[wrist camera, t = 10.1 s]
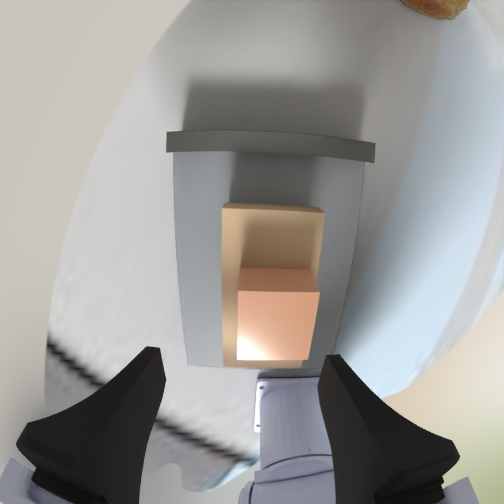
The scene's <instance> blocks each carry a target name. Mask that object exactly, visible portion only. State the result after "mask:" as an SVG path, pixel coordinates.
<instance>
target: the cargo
mask: <svg viewBox="0 0 504 504" xmlns="http://www.w3.org/2000/svg"><path fill="white" fill-rule="evenodd" d="M319 296H320V291H319V289H318V286H317V284H316V282H315V280H314V277H313V275H312V273H311V271H310V269H281V268H245V267H240V273H239V283H238V321H237V359H239V360H308V357H309V352H310V347H311V341H312V336H313V331H314V325H315V320H316V314H317V308H318V302H319Z"/></svg>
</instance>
